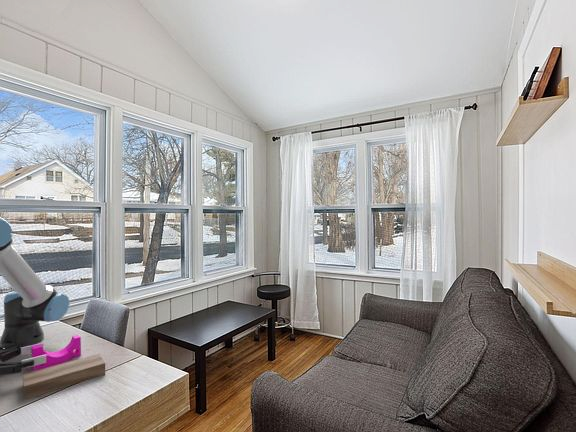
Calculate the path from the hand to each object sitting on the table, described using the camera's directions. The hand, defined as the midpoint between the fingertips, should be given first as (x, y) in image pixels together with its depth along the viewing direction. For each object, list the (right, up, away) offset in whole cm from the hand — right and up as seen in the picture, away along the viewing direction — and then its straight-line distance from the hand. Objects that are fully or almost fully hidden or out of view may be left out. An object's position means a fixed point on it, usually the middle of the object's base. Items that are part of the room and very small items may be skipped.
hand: (44, 352), depth 116 cm
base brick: (+14, -6, -8) cm, 17 cm away
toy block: (+1, -6, +6) cm, 8 cm away
